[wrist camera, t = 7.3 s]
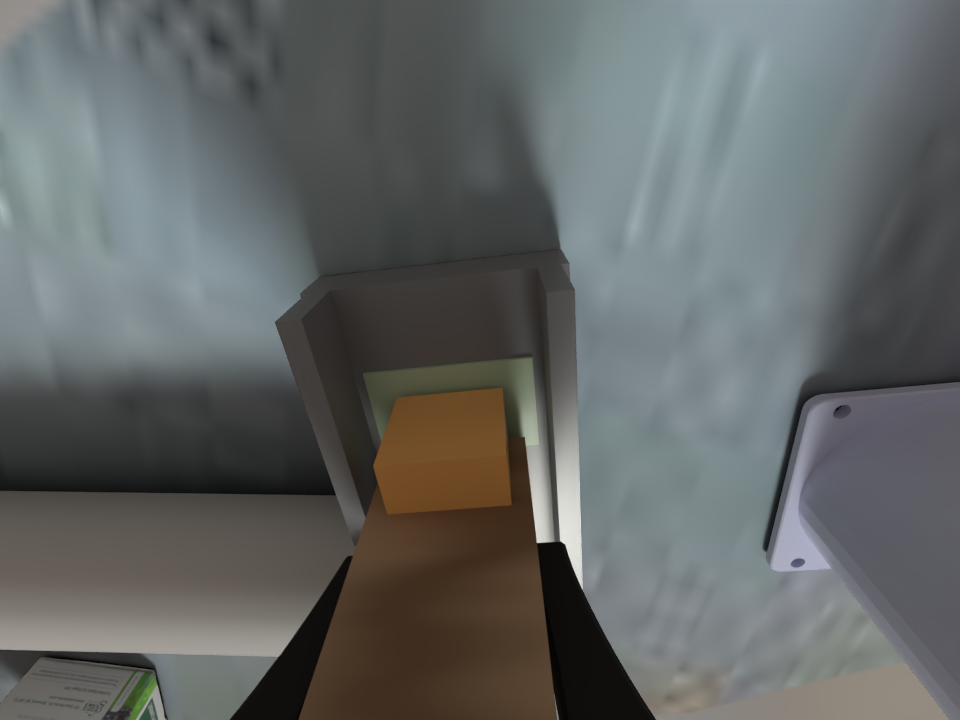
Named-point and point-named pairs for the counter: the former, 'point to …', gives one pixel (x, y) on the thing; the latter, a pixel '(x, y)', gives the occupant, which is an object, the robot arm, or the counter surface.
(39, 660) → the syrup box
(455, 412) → the switch knob
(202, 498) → the tube
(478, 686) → the walnut peg
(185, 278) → the counter surface
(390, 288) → the grey open tray
